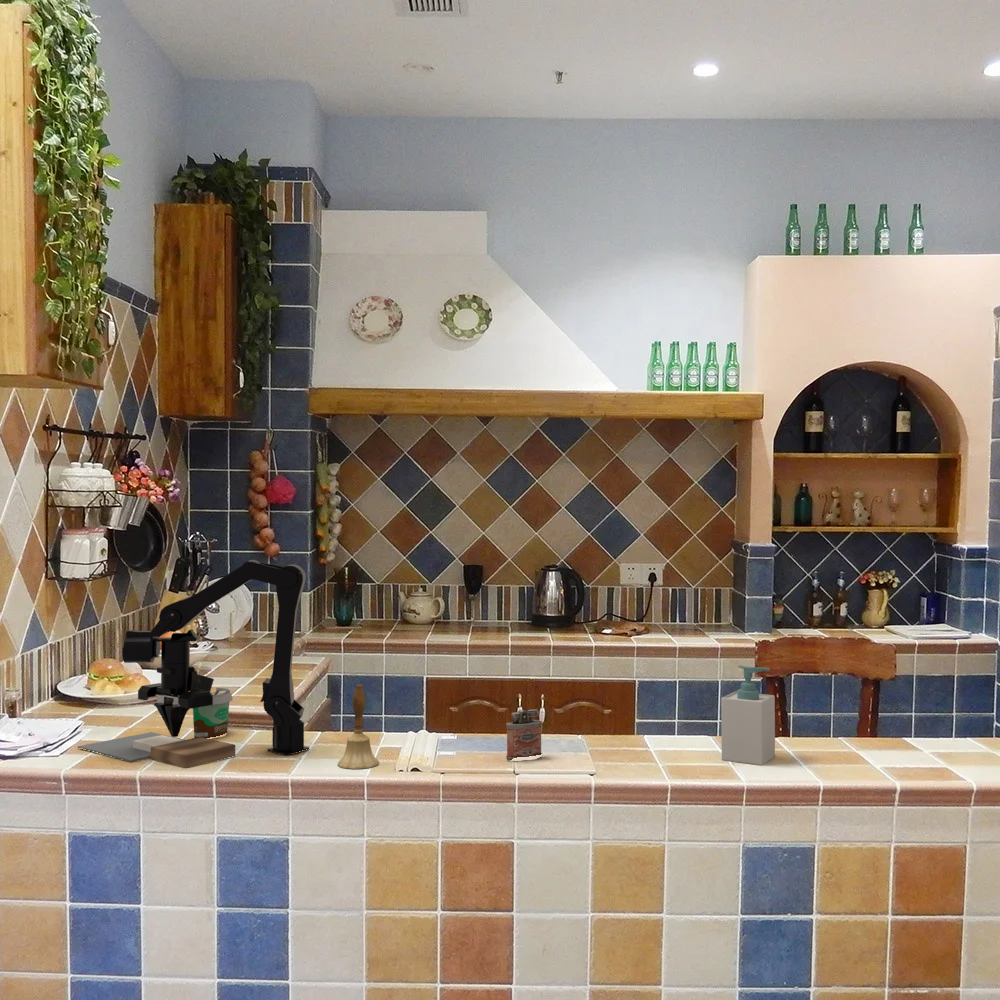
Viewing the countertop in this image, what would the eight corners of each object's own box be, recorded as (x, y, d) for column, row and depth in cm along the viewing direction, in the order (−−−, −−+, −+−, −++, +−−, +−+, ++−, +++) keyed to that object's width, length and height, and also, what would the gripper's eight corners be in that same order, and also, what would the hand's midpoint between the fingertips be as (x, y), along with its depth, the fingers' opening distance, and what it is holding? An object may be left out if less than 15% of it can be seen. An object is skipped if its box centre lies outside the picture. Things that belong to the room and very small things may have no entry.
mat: (204, 746, 216) (204, 743, 216) (130, 762, 202) (130, 759, 202) (151, 734, 228) (151, 732, 228) (77, 748, 214) (77, 746, 214)
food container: (216, 742, 220) (216, 697, 220) (190, 741, 221) (191, 696, 221) (241, 731, 232) (241, 688, 232) (217, 729, 233) (217, 687, 233)
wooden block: (235, 756, 207) (235, 744, 207) (185, 768, 197) (186, 755, 197) (199, 748, 214) (200, 736, 214) (150, 759, 204) (150, 747, 205)
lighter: (510, 762, 202) (510, 713, 202) (503, 759, 205) (503, 710, 205) (545, 758, 205) (545, 709, 206) (537, 754, 208) (537, 707, 209)
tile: (189, 748, 212) (189, 741, 212) (160, 754, 206) (160, 747, 206) (161, 742, 218) (162, 735, 218) (133, 747, 213) (133, 740, 213)
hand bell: (339, 759, 204) (339, 682, 205) (380, 759, 205) (380, 681, 205) (335, 770, 196) (336, 688, 196) (378, 769, 197) (378, 688, 197)
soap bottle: (763, 766, 199) (763, 670, 199) (721, 760, 204) (720, 667, 204) (776, 757, 206) (775, 665, 207) (734, 752, 211) (734, 662, 211)
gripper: (234, 662, 211) (234, 735, 210) (181, 654, 222) (180, 724, 221) (190, 668, 202) (189, 745, 201) (136, 660, 213) (136, 733, 213)
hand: (174, 736), depth 209 cm, fingers closed
